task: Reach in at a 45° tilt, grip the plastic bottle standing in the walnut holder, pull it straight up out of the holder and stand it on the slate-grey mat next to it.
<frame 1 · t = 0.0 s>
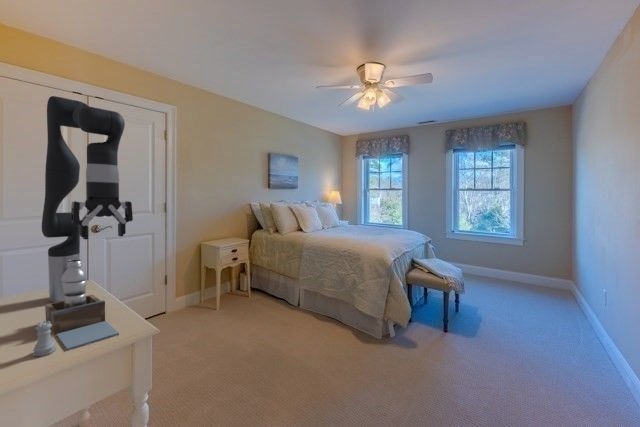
hand: (103, 237, 86), 29 cm above the table, tool pointing down, fingers open, 8 cm apart
rook chess piece: (44, 353, 78), on the table
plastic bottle: (75, 322, 96), resting in holder
mat: (88, 335, 88), on the table
holder: (75, 322, 96), on the table
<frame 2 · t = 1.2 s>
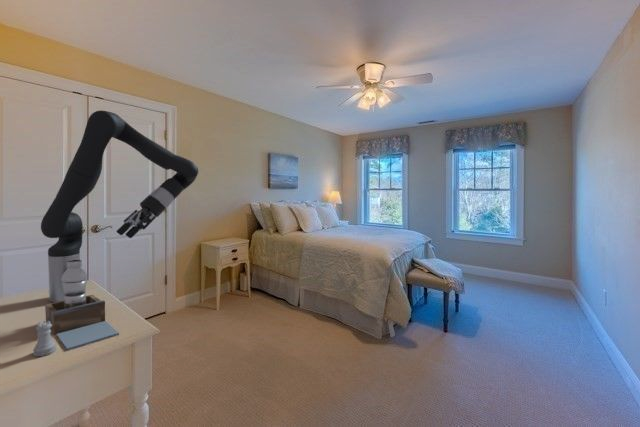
hand: (123, 235, 103), 27 cm above the table, tool tilted 45°, fingers open, 8 cm apart
nothing on the table moved.
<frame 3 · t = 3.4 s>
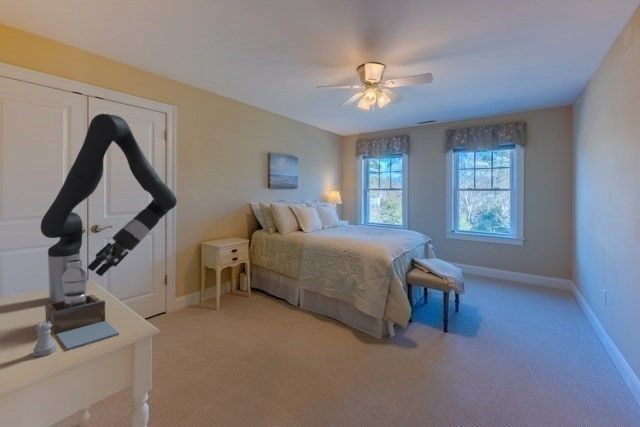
hand: (93, 271, 99), 16 cm above the table, tool tilted 45°, fingers open, 8 cm apart
nothing on the table moved.
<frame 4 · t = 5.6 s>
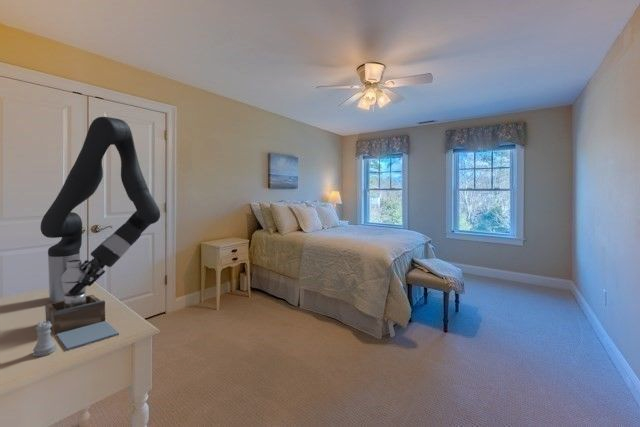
hand: (68, 291, 94), 10 cm above the table, tool tilted 45°, fingers closed on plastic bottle, 6 cm apart
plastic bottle: (75, 322, 96), resting in holder, touching gripper
everything else where it was.
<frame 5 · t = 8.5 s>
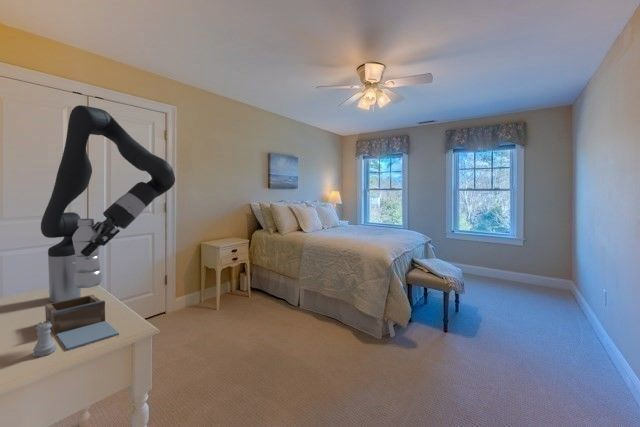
hand: (80, 252, 85), 25 cm above the table, tool tilted 45°, fingers closed on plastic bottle, 6 cm apart
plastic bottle: (88, 287, 88), point 14 cm above the table, touching gripper
everything else where it was.
when the fingers open (12 cm above the table, at t = 11.5 s): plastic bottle drops 1 cm, resting on mat.
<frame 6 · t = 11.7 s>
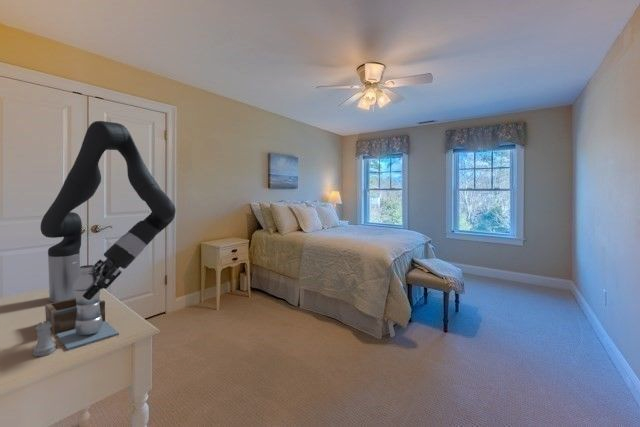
hand: (81, 294, 86), 13 cm above the table, tool tilted 45°, fingers open, 8 cm apart
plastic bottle: (89, 333, 88), resting on mat
everything else where it was.
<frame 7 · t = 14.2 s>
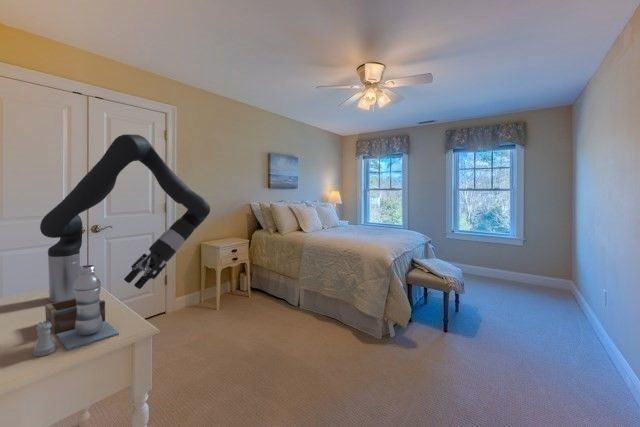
hand: (131, 284, 96), 13 cm above the table, tool tilted 45°, fingers open, 8 cm apart
nothing on the table moved.
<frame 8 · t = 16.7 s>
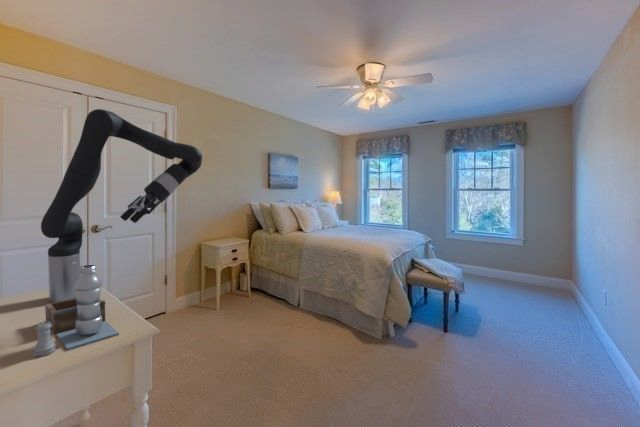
hand: (127, 220, 102), 33 cm above the table, tool tilted 45°, fingers open, 8 cm apart
nothing on the table moved.
at the end: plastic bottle inside the target area on the mat (0.2 cm from its centre), point 0.4 cm above the mat's base; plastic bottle tilted 0°; the gripper is holding nothing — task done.
